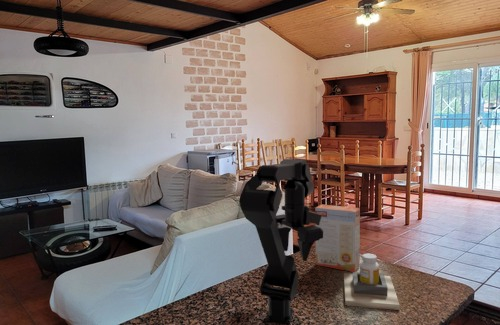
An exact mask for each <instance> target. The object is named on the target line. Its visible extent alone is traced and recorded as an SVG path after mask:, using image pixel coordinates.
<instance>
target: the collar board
mask: <svg viewBox="0 0 500 325" xmlns="http://www.w3.org/2000/svg"><path fill="white" fill-rule="evenodd" d="M391 278H392V277H391V275H385V274H384V273H379V285H372V284H360V271H359V272H358V271H355V272H351V273H348V272H344V273H343V283H344V284H343V287H344V300H345V302H344V303H345V304H344V305H345V306H346V305H347V306H348V307H360V308H372V309H383V310H396V311H400V309H401V308H400V302H399V300H398V296H397V293H396V290H395V287H394V284H393V281H392V279H391Z"/></svg>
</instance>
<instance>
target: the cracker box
mask: <svg viewBox="0 0 500 325" xmlns="http://www.w3.org/2000/svg"><path fill="white" fill-rule="evenodd" d="M360 209H361V208H360V207H351V206H342V205H332V204H331V205H330V204H320V205H318V206H316V207H315V210H314V211H315V212H314V213H317V214H320V215H322V217H321V220H320V224H319V225H316V224H315V225H314V226H317V227H319V228H321V229H322V230H323V238H321V239H319V240H317V241H315V265H316V266H320V267H326V268H332V269H336V270H342V271H347V272H351V273H353V272H357V270H358V269H360V263H361V260H360V259H361V258H360V256H361V255H360V252H361V251H360V250H361V248H360V247H361V244H360V243H361V241H360V240H361V237H360V235H361V232H360V231H361V230H360V229H361V225H360V224H361V219H360V218H361V217H360V216H361V210H360Z"/></svg>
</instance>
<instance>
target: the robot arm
mask: <svg viewBox="0 0 500 325" xmlns="http://www.w3.org/2000/svg"><path fill="white" fill-rule="evenodd" d="M281 181H284V182H285V181H286V183H285V184H284V185H283V186H282V188H281V186H280V183H281ZM263 183H275V184H276V187H275V190H271V189H259V187H261V185H262V184H263ZM282 189H283V191H284V205H281V210H283V211H284V214H283V213H282V214H278V212H279V209H280V204H281V202H282V198H283V192H282ZM314 190H315V185H314V183H313V178H312V175H311V169H310V166H309V163H307V160H306V159H294V158H293V159H292V158H289V159H288V158H284V159H283V160H281V161H280V163H277V164H271V165H270V164H267V165H266V164H262V165H261V166H259V167H258V168H257V171H256V173H255V174H254V175H253V176H252V177H251V178H249V180H247V181H246V182H245V184H244V186H243V189H242V191H241V193H240V196H239V200H238V201H239V207H240V210H241V211H242V214H243V215H244V217H245V219H246V220H247V221H248V222H250V223H251V224H252V225H254V226H255V229H256V232H257V235H258V239H259V241H260V244H261V247H262V250H263V253H264V256H265V259H266V263H267V264H266V267H265V270H264V273H263V277H262V281H261V284H260V287H259V292H260V296H265V297H267V302H268V307H267V308H268V309H267V313H266V316H265V319H264V320H265V322H266V323H274V324H275V323H276V324H286V325H291V323H292V318H293V315H294V309H292V308H291V302H293V300H294V298H295V297H296V296H297V294H298V287H299V286H298V285H299V276H300V275H299V271H298V270H297V264H296V260H295V258H294V256H293V255H286V253H285V252H288V250H289V241H290V240H289V239H290V232H291V231H292V230H293V231H295V232H297V237H298V238H297V239H296V240H297V244H298V247H299V248H298V249H299V251H300V252H299V253H300V256H301V260H302V261H303V262H306V261H307V260H308V257H309V254H310V251H311V250H312V246H313V245H314V244H315V243H316V241H317V240H319V239H321V238H323V230H322V229H321V228H319V227H317V226H315V225H314V224H316V225H319V224H320V220H321V217H322V215H320V214H317V213H315V212H314V211H311V209H310V208H309V206H308V205H306V204H305V201H306V200H305V199H306V198H307V197H309V196H310V195H312V193H313V192H314ZM277 214H278V215H277ZM311 224H312V225H311Z"/></svg>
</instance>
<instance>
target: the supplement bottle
mask: <svg viewBox="0 0 500 325" xmlns="http://www.w3.org/2000/svg"><path fill="white" fill-rule="evenodd" d="M361 258H362V261H360V267H359V272H360V284H372V285H379V274H380V264H379V263H378V262H377V261H378V256H377V255H376V254H375V253H374V254H373V253H368V252H367V253H363V254H362V255H361Z"/></svg>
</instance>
